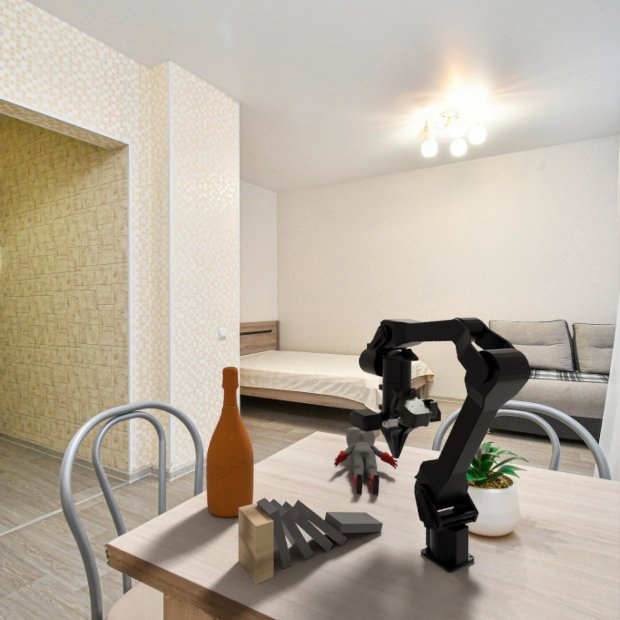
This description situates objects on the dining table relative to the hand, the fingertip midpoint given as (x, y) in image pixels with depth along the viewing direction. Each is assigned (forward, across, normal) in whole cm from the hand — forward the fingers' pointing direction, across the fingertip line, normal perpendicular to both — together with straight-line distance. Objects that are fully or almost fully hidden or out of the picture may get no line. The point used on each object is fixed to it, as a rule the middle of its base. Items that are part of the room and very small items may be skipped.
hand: (395, 457), depth 86 cm
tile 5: (+12, -26, -4) cm, 29 cm away
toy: (+13, +8, +24) cm, 28 cm away
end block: (+12, -31, -4) cm, 33 cm away
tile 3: (+12, -18, -3) cm, 21 cm away
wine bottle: (+12, -30, +17) cm, 37 cm away
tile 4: (+12, -22, -3) cm, 25 cm away
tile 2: (+12, -15, -2) cm, 19 cm away
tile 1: (+11, -6, -1) cm, 13 cm away
